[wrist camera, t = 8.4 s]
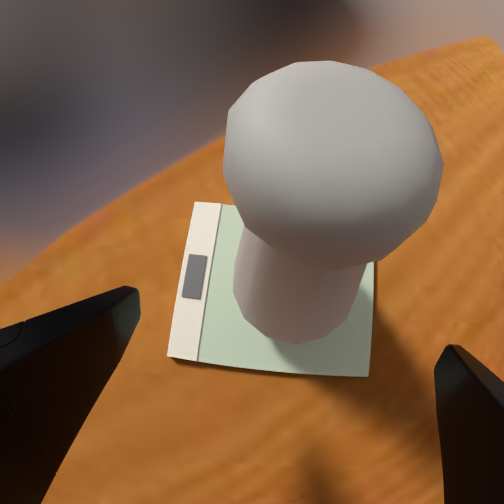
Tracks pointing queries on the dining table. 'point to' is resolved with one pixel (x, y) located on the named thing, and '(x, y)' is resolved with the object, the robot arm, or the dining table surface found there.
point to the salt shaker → (322, 190)
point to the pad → (240, 330)
